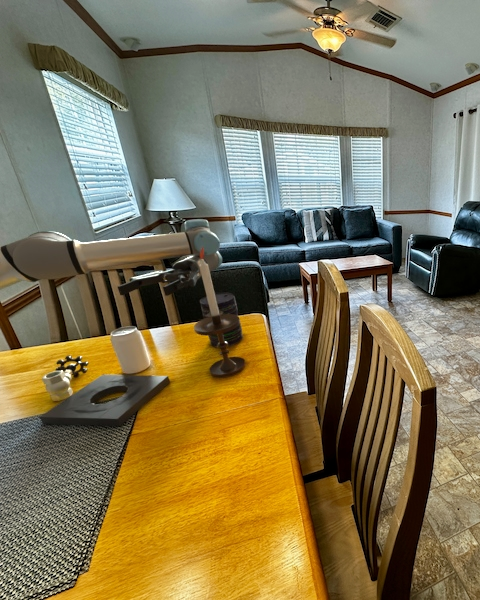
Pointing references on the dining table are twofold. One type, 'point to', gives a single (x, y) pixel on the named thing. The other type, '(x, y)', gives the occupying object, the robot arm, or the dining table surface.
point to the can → (130, 349)
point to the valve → (63, 378)
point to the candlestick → (218, 328)
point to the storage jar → (228, 307)
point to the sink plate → (108, 414)
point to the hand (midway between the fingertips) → (142, 291)
